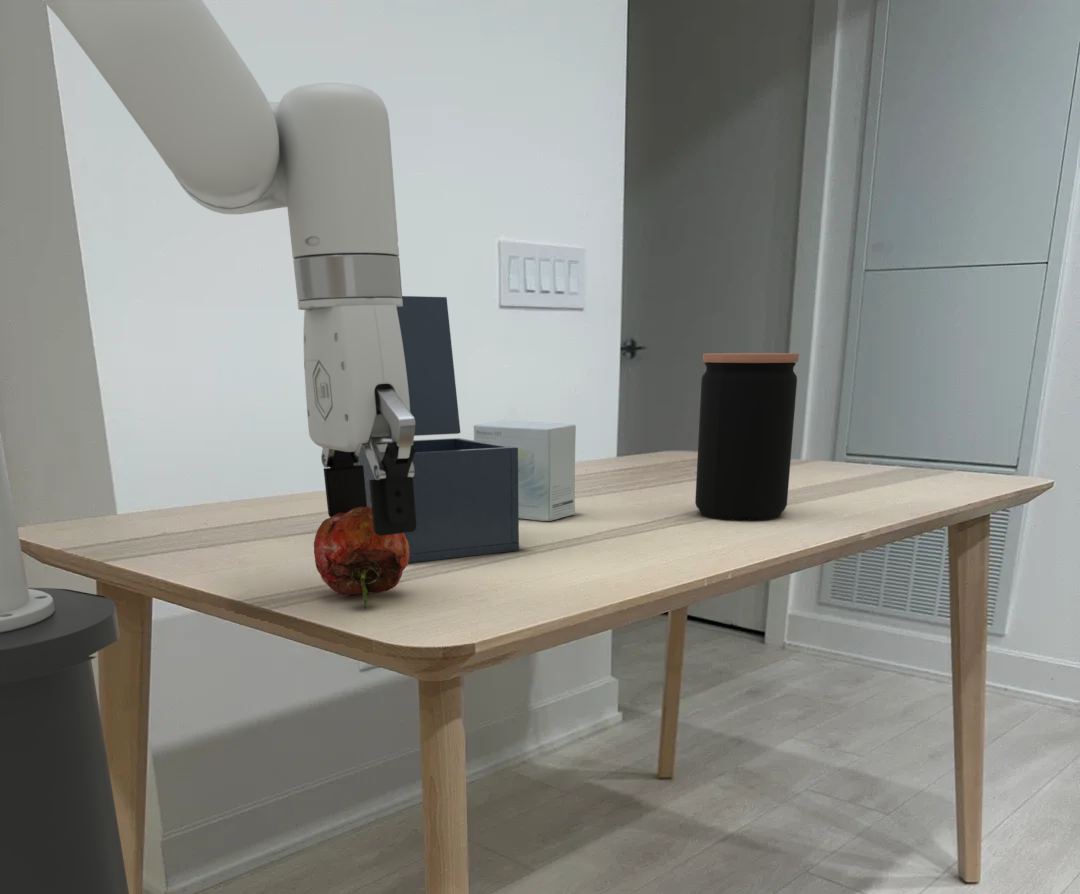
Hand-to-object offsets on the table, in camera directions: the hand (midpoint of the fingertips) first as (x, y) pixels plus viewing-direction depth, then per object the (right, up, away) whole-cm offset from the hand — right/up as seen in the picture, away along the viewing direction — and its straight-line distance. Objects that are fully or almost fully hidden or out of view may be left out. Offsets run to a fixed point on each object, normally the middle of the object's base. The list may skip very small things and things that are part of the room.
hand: (370, 524), depth 79 cm
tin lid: (-1, +20, +22) cm, 30 cm away
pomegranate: (-1, -6, +2) cm, 6 cm away
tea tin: (+3, +2, +22) cm, 22 cm away
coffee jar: (+37, +9, +41) cm, 56 cm away
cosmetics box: (+11, +9, +41) cm, 44 cm away
